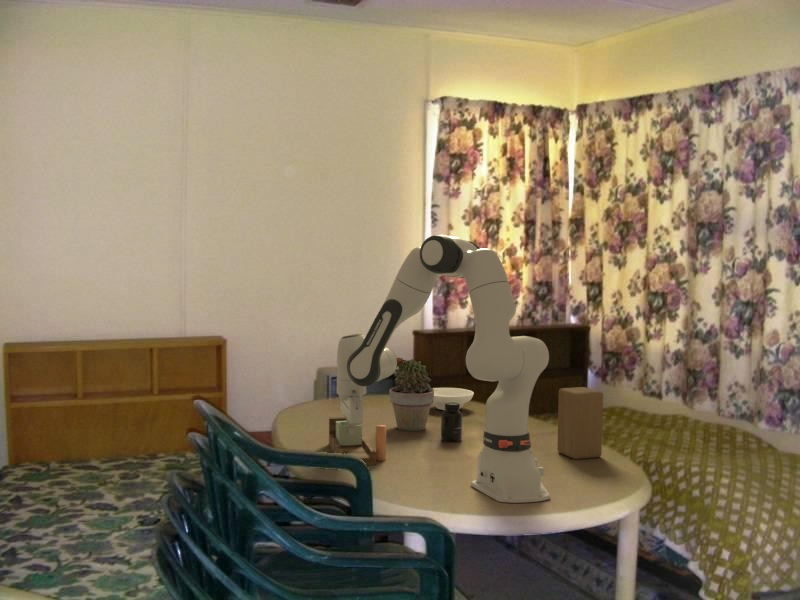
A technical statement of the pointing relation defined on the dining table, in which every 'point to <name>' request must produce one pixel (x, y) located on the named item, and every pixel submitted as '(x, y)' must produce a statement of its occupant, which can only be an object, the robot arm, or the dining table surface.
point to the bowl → (451, 396)
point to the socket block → (345, 437)
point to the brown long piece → (360, 451)
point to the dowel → (381, 442)
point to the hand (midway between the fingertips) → (351, 433)
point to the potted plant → (411, 395)
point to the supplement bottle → (451, 423)
